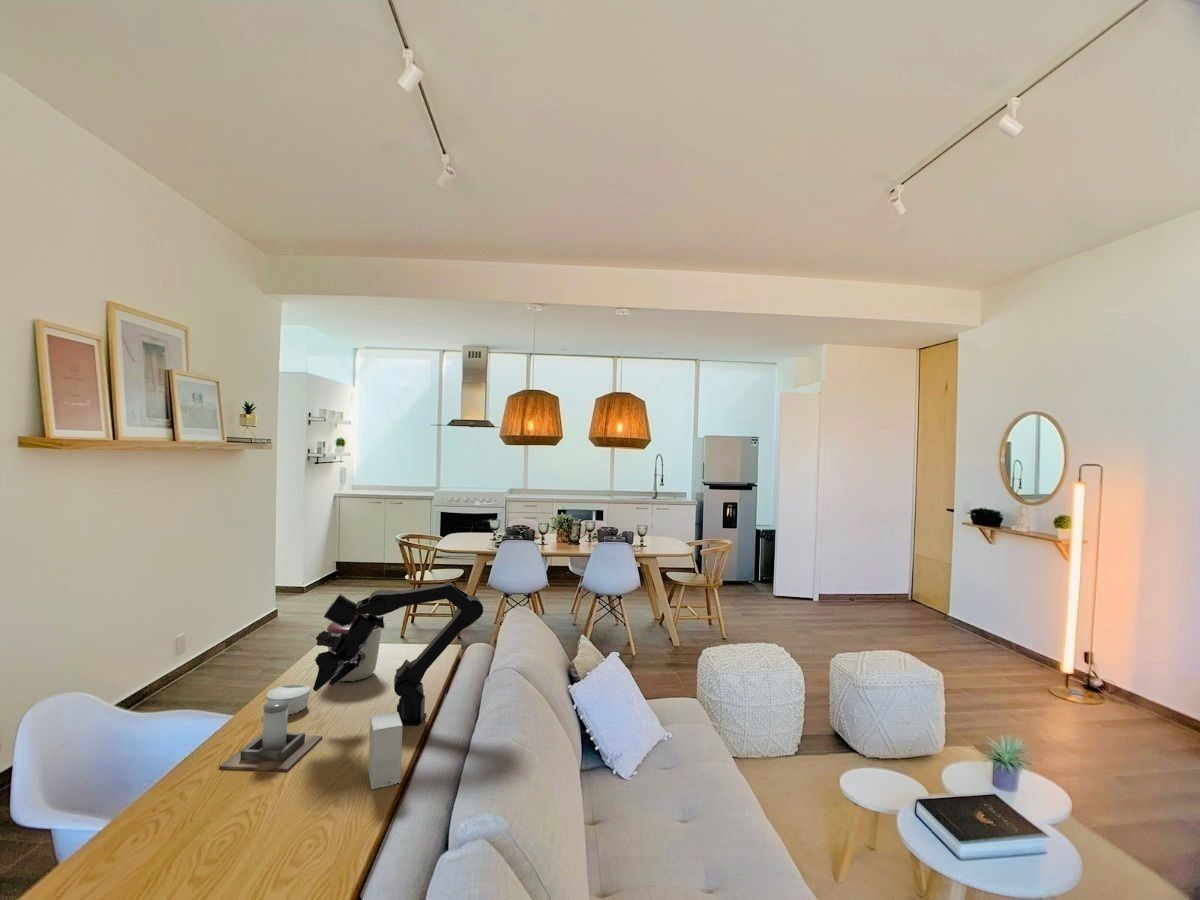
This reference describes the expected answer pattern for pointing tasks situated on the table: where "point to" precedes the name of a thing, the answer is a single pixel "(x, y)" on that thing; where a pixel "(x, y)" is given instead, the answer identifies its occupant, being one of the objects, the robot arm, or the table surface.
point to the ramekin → (291, 696)
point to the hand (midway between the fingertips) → (322, 687)
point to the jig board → (272, 754)
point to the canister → (369, 650)
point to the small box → (385, 750)
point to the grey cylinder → (275, 725)
